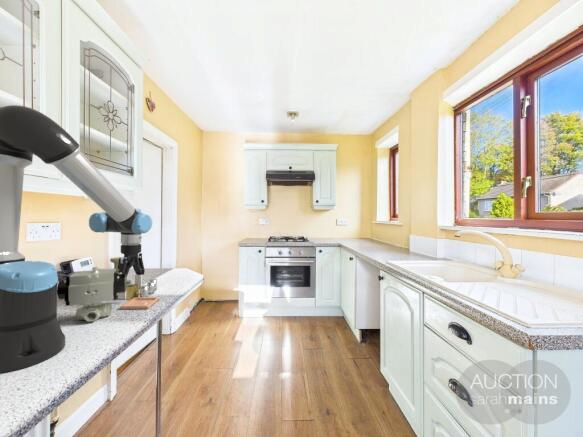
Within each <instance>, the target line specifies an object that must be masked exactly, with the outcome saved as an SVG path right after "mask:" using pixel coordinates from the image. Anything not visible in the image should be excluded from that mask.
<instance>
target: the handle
mask: <svg viewBox="0 0 583 437" xmlns="http://www.w3.org/2000/svg"><path fill="white" fill-rule="evenodd" d="M119 258H124V256H117V257H116V256H115V257H111V258H110V262H111V263H113V264H114V265H113V269H117V268H118V264H119Z"/></svg>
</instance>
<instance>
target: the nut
mask: <svg viewBox="0 0 583 437" xmlns="http://www.w3.org/2000/svg"><path fill="white" fill-rule="evenodd" d="M136 297H140V290H139V284H135V283H131V284H129V285H127V287H126V299H125V300H131V299H133V298H136Z"/></svg>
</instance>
